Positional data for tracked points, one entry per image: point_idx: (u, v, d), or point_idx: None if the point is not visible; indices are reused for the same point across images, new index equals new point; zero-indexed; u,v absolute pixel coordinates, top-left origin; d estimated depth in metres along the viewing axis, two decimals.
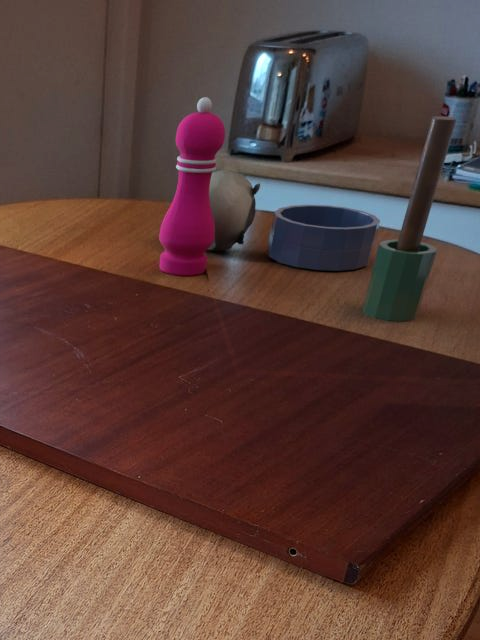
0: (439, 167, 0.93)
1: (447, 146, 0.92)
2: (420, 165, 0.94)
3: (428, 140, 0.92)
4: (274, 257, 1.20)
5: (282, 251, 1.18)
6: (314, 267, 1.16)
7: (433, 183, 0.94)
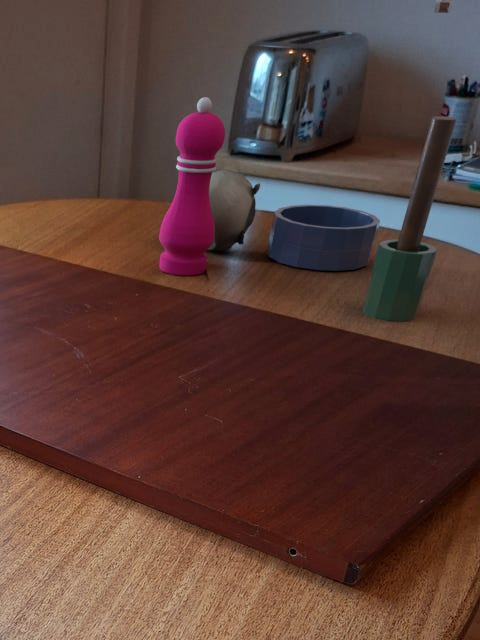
0: (439, 167, 0.93)
1: (447, 146, 0.92)
2: (420, 165, 0.94)
3: (428, 140, 0.92)
4: (274, 257, 1.20)
5: (282, 251, 1.18)
6: (314, 267, 1.16)
7: (433, 183, 0.94)
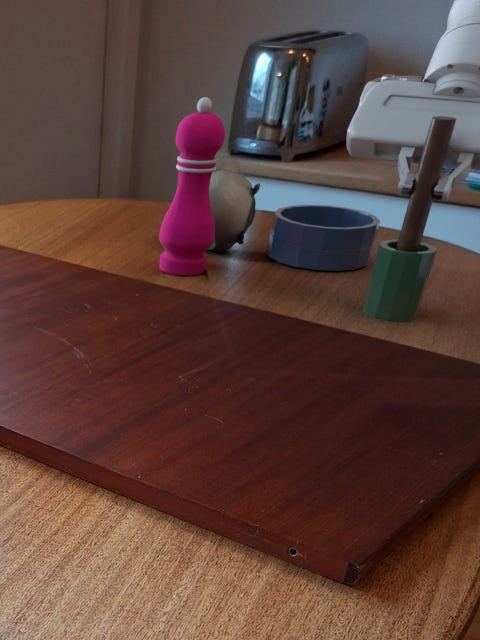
0: (439, 167, 0.93)
1: (447, 146, 0.92)
2: (420, 165, 0.94)
3: (428, 140, 0.92)
4: (274, 257, 1.20)
5: (282, 251, 1.18)
6: (314, 267, 1.16)
7: (433, 183, 0.94)
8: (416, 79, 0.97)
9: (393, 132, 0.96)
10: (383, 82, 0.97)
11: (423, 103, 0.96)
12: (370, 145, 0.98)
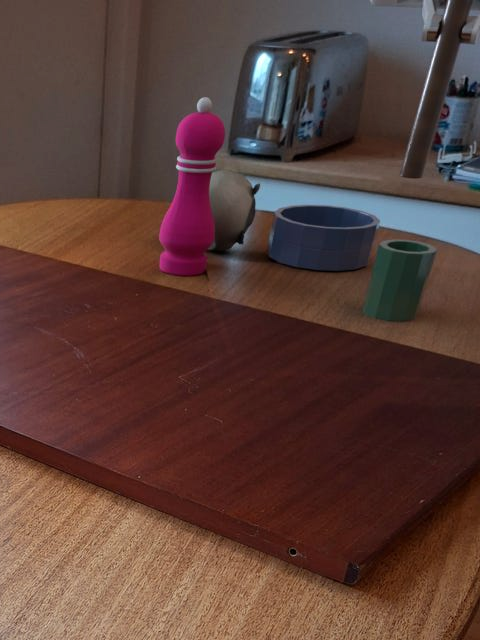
0: (468, 4, 0.87)
1: None
2: (447, 4, 0.88)
3: None
4: (274, 257, 1.20)
5: (282, 251, 1.18)
6: (314, 267, 1.16)
7: (461, 23, 0.88)
8: None
9: None
10: None
11: None
12: None
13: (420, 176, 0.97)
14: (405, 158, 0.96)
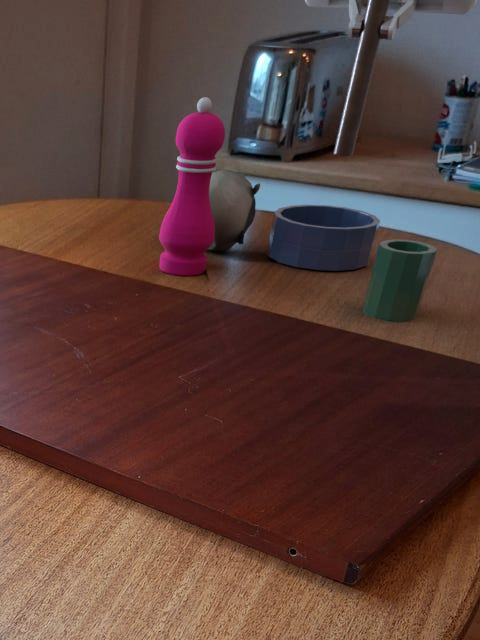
0: (385, 6, 1.02)
1: None
2: (368, 5, 1.03)
3: None
4: (274, 257, 1.20)
5: (282, 251, 1.18)
6: (314, 267, 1.16)
7: (379, 22, 1.03)
8: None
9: None
10: None
11: None
12: None
13: (350, 154, 1.12)
14: (337, 138, 1.12)
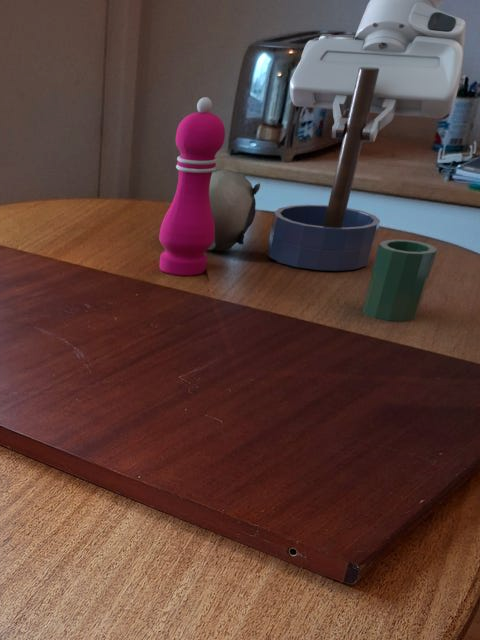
0: (366, 111, 1.08)
1: (372, 93, 1.07)
2: (350, 110, 1.09)
3: (356, 87, 1.08)
4: (274, 257, 1.20)
5: (282, 251, 1.18)
6: (314, 267, 1.16)
7: (361, 125, 1.09)
8: (349, 37, 1.13)
9: (328, 82, 1.11)
10: (320, 40, 1.13)
11: (354, 57, 1.11)
12: (309, 95, 1.13)
13: None
14: None
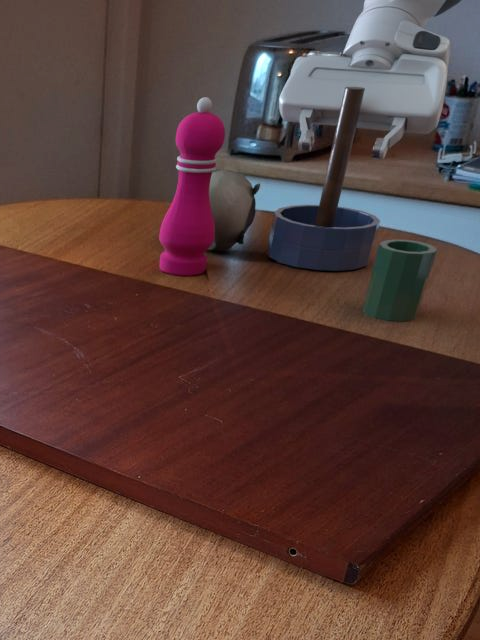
0: (352, 129, 1.11)
1: (358, 111, 1.10)
2: (336, 128, 1.12)
3: (342, 106, 1.10)
4: (274, 257, 1.20)
5: (282, 251, 1.18)
6: (314, 267, 1.16)
7: (347, 143, 1.12)
8: (337, 54, 1.15)
9: (316, 98, 1.14)
10: (309, 57, 1.15)
11: (341, 74, 1.14)
12: (298, 110, 1.16)
13: None
14: None
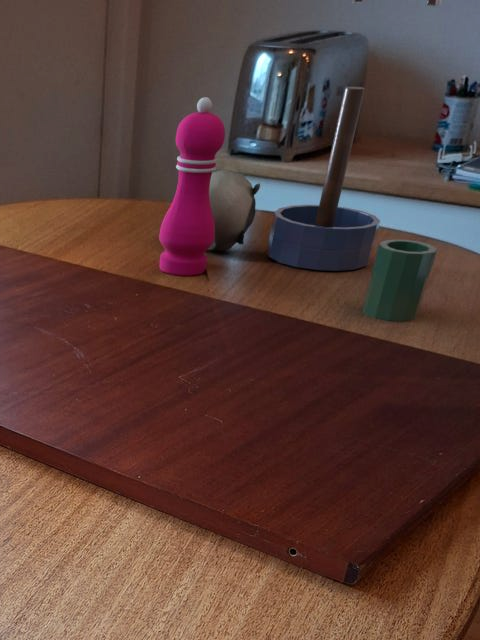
0: (352, 129, 1.11)
1: (358, 111, 1.10)
2: (336, 128, 1.12)
3: (342, 106, 1.10)
4: (274, 257, 1.20)
5: (282, 251, 1.18)
6: (314, 267, 1.16)
7: (347, 143, 1.12)
8: None
9: None
10: None
11: None
12: None
13: None
14: None
